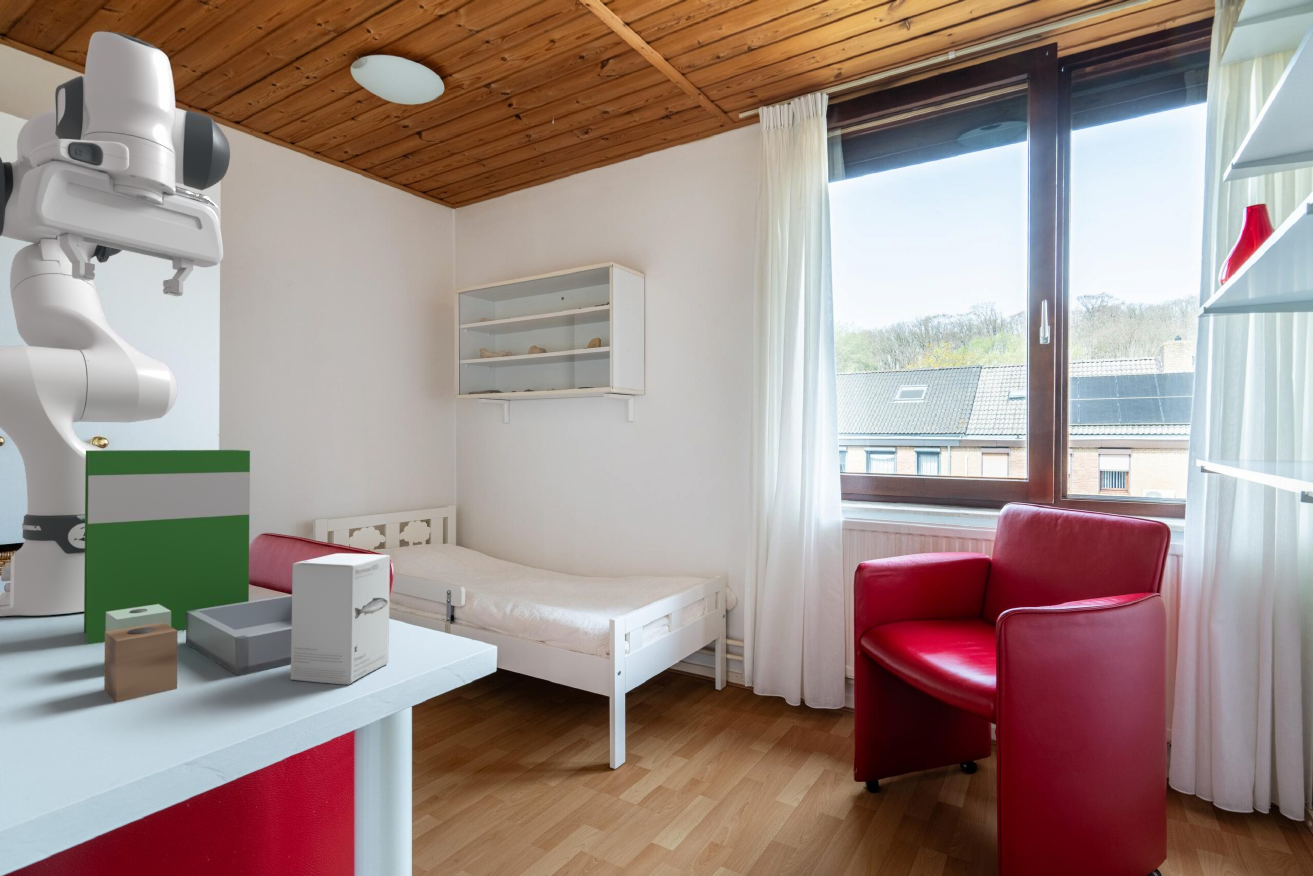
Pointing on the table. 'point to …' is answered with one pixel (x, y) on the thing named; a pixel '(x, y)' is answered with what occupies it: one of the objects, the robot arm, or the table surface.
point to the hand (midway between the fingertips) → (130, 287)
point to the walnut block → (140, 661)
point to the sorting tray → (243, 634)
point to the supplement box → (339, 617)
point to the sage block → (137, 617)
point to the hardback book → (164, 532)
